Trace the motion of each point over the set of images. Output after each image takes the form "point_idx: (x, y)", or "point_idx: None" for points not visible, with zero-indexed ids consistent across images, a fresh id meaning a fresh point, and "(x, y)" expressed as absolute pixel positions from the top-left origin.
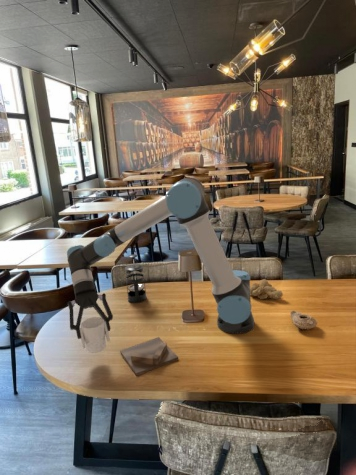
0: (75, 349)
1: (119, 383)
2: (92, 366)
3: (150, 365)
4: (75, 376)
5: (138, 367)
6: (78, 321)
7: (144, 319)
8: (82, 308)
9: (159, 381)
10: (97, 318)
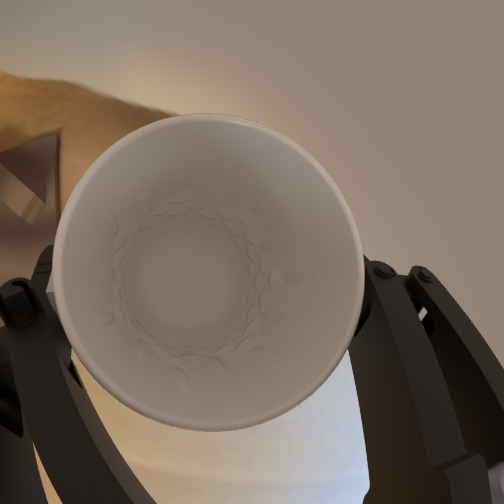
0: None
1: (121, 121)
2: None
3: (4, 160)
4: None
5: (37, 161)
6: (403, 311)
7: None
8: (452, 470)
9: (23, 102)
10: (152, 402)
